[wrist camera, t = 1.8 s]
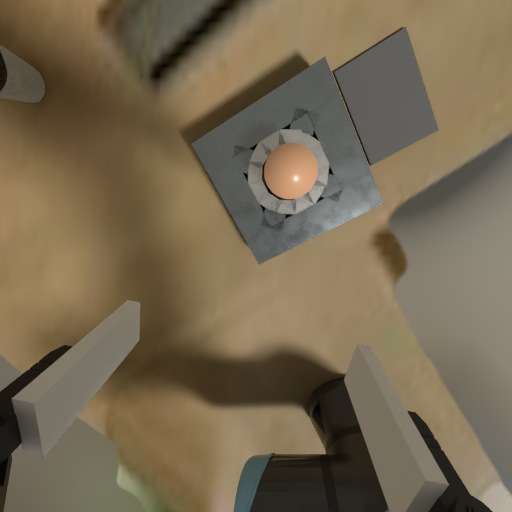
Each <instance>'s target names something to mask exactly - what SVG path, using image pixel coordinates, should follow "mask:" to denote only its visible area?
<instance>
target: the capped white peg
mask: <svg viewBox="0 0 512 512" xmlns="http://www.w3.org/2000/svg"><path fill="white" fill-rule="evenodd" d="M317 174H318V165H317V161H316V158H315V156H314V154H313V153H312V152H311V150H310V149H308V148H307V147H306V146H304V145H302V144H299V143H285V144H282V145H280V146H278V147H277V148H275V149H274V150H273V151H272V152H271V153H270V155H269V156H268V158H267V160H266V163H265V167H264V177H265V181H266V184H267V186H268V188H269V189H270V190H271V191H272V192H273V193H274V194H275V195H277V196H278V197H281V198H284V199H296V198H299V197H301V196H303V195H305V194H306V193H307V192H309V190H310V189H311V188H312V187H313V185H314V184H315V181H316V179H317Z"/></svg>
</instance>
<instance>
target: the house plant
mask: <svg viewBox="0 0 512 512" xmlns="http://www.w3.org/2000/svg"><path fill="white" fill-rule="evenodd" d="M44 94H45V83H44V80H43V78H42V76H41V74H40V73H39V72H38V71H37V70H36V69H35V68H34V67H33V66H31V65H30V64H28V63H27V62H25V61H24V60H22V59H21V58H19V57H18V56H16V55H15V54H13V53H12V52H10V51H9V50H7V49H6V48H5V47H3V46H2V45H0V98H2V99H9V100H15V101H22V102H28V103H37V102H39V101H41V99H42V98H43V97H44Z"/></svg>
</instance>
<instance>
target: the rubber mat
mask: <svg viewBox="0 0 512 512" xmlns="http://www.w3.org/2000/svg"><path fill="white" fill-rule="evenodd" d="M334 75H335V78H336V80H337V83H338V85H339V88H340V90H341V93H342V95H343V98H344V101H345V103H346V106H347V108H348V111H349V113H350V116H351V118H352V121H353V123H354V126H355V128H356V131H357V133H358V136H359V138H360V141H361V144H362V146H363V149H364V151H365V154H366V156H367V159H368V161H369V164H370V166H371V165H373V164H375V163H377V162H379V161H380V160H382V159H384V158H386V157H388V156H390V155H392V154H394V153H395V152H397V151H399V150H401V149H403V148H405V147H407V146H409V145H411V144H412V143H414V142H416V141H418V140H420V139H422V138H424V137H426V136H428V135H429V134H431V133H433V132H435V131H437V130H438V127H437V124H436V121H435V118H434V115H433V112H432V108H431V105H430V102H429V99H428V96H427V92H426V89H425V86H424V83H423V80H422V77H421V73H420V70H419V67H418V64H417V61H416V58H415V54H414V51H413V48H412V45H411V42H410V39H409V35H408V32H407V29H406V27H405V28H403V29H402V30H400V31H399V32H397V33H395V34H394V35H392V36H391V37H389V38H388V39H386V40H384V41H383V42H381V43H380V44H378V45H376V46H375V47H373V48H372V49H370V50H369V51H367V52H365V53H364V54H362V55H361V56H359V57H357V58H356V59H354V60H353V61H351V62H350V63H348V64H346V65H345V66H343V67H342V68H340V69H338V70H337V71H335V72H334Z"/></svg>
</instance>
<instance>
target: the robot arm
mask: <svg viewBox="0 0 512 512" xmlns="http://www.w3.org/2000/svg"><path fill="white" fill-rule="evenodd" d="M139 340H140V302H135V301H130V300H127V301H126V302H125V303H124V304H122V305H121V306H120V307H119V308H118V309H117V310H115V311H114V312H113V313H112V314H111V315H110V316H108V317H107V318H106V319H105V320H104V321H102V322H101V323H100V324H99V325H98V326H97V327H95V328H94V329H93V330H92V331H91V332H90V333H88V334H87V335H86V336H85V337H84V338H82V339H81V340H80V341H79V342H78V343H77V344H75V345H74V346H73V347H72V346H67V345H64V346H62V347H60V348H58V349H56V350H54V351H52V352H50V353H49V354H47V355H46V356H45V357H44V358H42V359H41V360H40V361H39V363H36V364H35V365H33V366H32V367H31V368H30V370H27V371H26V372H25V373H23V374H22V375H21V376H20V377H18V378H17V379H16V380H14V381H13V382H12V383H11V384H9V385H8V386H7V387H6V388H4V389H3V390H2V391H1V392H0V512H3V509H4V504H5V498H6V491H7V486H8V480H9V474H10V468H11V462H12V456H11V453H12V452H13V451H14V450H15V449H16V448H17V447H18V446H19V445H20V444H22V449H23V453H24V454H28V455H33V456H38V457H45V456H46V454H47V453H48V452H49V451H50V449H51V448H52V447H53V446H54V444H55V443H56V442H57V441H58V440H59V438H60V437H61V436H62V435H63V433H64V432H65V431H66V430H67V429H68V427H69V426H70V425H71V424H72V422H73V421H74V420H75V419H76V418H77V416H78V415H79V414H80V413H81V411H82V410H83V409H84V408H85V406H86V405H87V404H88V403H89V402H90V400H91V399H92V398H93V397H94V395H95V394H96V393H97V392H98V391H99V389H100V388H101V387H102V386H103V384H104V383H105V382H106V381H107V380H108V378H109V377H110V376H111V375H112V373H113V372H114V371H115V370H116V368H117V367H118V366H119V365H120V364H121V362H122V361H123V360H124V359H125V357H126V356H127V355H128V354H129V353H130V351H131V350H132V349H133V348H134V346H135V345H136V344H137V343H138V342H139ZM309 411H310V417H311V421H312V424H313V426H314V428H315V430H316V432H317V434H318V436H319V438H320V440H321V442H322V444H323V446H324V448H325V451H326V454H275V453H271V454H269V455H257V456H252V457H251V458H249V459H248V461H247V462H246V464H245V466H244V468H243V470H242V473H241V476H240V480H239V484H238V488H237V493H236V499H235V505H234V512H492V511H491V510H490V509H489V508H488V507H487V506H486V505H485V504H484V503H482V502H481V501H480V500H478V499H476V498H475V497H473V496H471V495H470V493H469V492H468V490H467V489H466V487H465V485H464V484H463V482H462V481H461V479H460V477H459V476H458V474H457V473H456V471H455V469H454V468H453V466H452V464H451V463H450V461H449V460H448V458H447V456H446V455H445V453H444V452H443V450H441V447H440V445H439V444H438V442H437V440H436V439H434V435H433V434H432V432H431V431H430V429H429V427H428V426H427V424H426V423H425V422H424V421H423V420H422V419H421V418H420V417H419V416H418V415H417V414H416V413H415V412H410V411H407V410H406V408H405V407H404V405H403V403H402V401H401V400H400V398H399V396H398V394H397V393H396V391H395V389H394V387H393V386H392V384H391V382H390V380H389V379H388V377H387V375H386V373H385V372H384V370H383V368H382V366H381V365H380V363H379V361H378V359H377V358H376V356H375V354H374V352H373V351H372V349H371V347H369V346H364V345H359V344H357V347H356V349H355V352H354V355H353V357H352V360H351V362H350V365H349V368H348V370H347V373H346V375H345V378H343V379H336V380H332V381H329V382H327V383H325V384H323V385H322V386H320V387H319V388H318V389H317V390H316V391H315V392H314V393H313V395H312V396H311V399H310V402H309Z"/></svg>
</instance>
